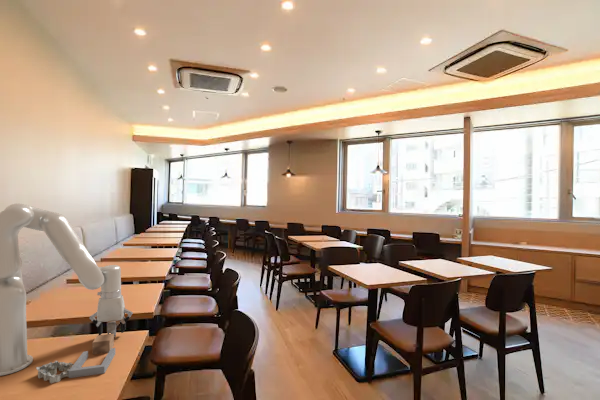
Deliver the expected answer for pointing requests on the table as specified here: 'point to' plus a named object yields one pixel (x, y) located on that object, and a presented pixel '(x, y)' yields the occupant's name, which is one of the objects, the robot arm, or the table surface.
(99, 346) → the tan block with knob
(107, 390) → the table surface
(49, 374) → the grey rough openwork block
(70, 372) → the lane rack
